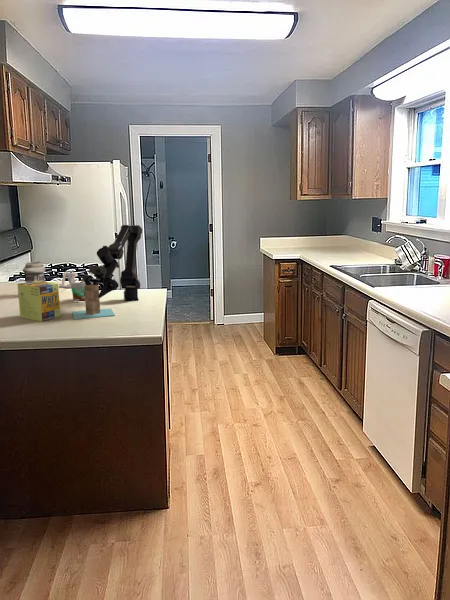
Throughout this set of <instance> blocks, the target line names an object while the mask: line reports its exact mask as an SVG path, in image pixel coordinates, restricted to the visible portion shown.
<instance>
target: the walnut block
mask: <svg viewBox="0 0 450 600" xmlns="http://www.w3.org/2000/svg"><path fill="white" fill-rule="evenodd" d="M99 287H100V286H99V285H98V284H96V285H92V284H91V285H87V286H84V288H85V301H84V302H85V310H86V314H91V315H94V314H98V313H100V309H101V302H100V299H101V298H98V296H99V293H100V288H99Z"/></svg>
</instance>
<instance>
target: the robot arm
mask: <svg viewBox="0 0 450 600" xmlns="http://www.w3.org/2000/svg"><path fill="white" fill-rule="evenodd" d="M142 234H143V228H142V227H141V225H139V224H136V225H135V224H123V225H121V226H120V230H119V232H118V234H117V236H116V238H115V240H114V242H113V243H110V245H109V246H108V245H103V246H102V247H101V248H99V249H97V251H96V256H97V257H98V259H99V260H100V262H101V263H102V264H103V265H99V266H95V265H94V266H93V265H90V266H89V269H88V273H89V274H84V275H83V276H82V279H81V280H84V282H85V286H87V285H91V284H92V285H98V284H102V288H101V289H100V290H99V296H98V298H99V299H101V298H102V297H104V296H106V295H107V294H109V293H111V292H112V291H115V290H118V288H119V286H121V289H123V299H124V300H125V301H126V302H131V301H132V302H133V301H134V302H135V301H140V300H139V296H138V295H139V294H138V293H139V291H138V290H139V289H141V282H140V280H139V279H138V273H137V272H136V260H137V249H138V242H139V241H140V239H142ZM126 243H127V247H126V249H127V250H126V256H125V257H126V258H125V268H124V270H122V271H121V272H120V279H119V282H120V285H119V283H118V281H117V280H116V279H115V278H114V274H113V273H114V272H115V270H116V268H117V269H119V268H120V264H119V263H120V262H119V261H117V260H121V259H123V257H124V252H125V251H124V247H125V245H126ZM91 274H92V275H91ZM84 296H85V291H84Z"/></svg>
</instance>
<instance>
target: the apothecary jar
mask: <svg viewBox="0 0 450 600" xmlns="http://www.w3.org/2000/svg"><path fill="white" fill-rule="evenodd" d="M46 271H47V270H46V267H45V266H44V265H43V262H42V261H29V262H26V263H25V265H24V266H23V268H22V272H23V273H24V274H25V282H24V283H27V282H33V281H41V282H47V281H46V279H45V272H46Z"/></svg>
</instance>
